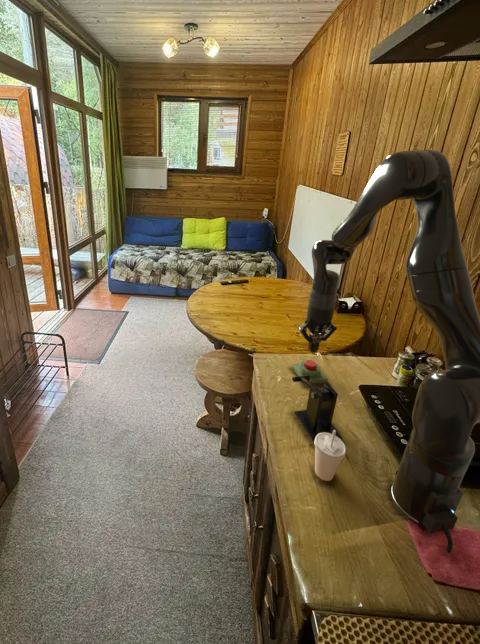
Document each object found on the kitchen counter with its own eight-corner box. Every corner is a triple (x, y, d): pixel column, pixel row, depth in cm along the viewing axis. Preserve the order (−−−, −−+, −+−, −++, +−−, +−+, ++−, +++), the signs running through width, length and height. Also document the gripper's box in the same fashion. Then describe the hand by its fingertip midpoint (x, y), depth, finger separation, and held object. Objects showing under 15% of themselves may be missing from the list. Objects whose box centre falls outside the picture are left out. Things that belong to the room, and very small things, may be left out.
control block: (327, 384, 100) (329, 374, 99) (304, 386, 99) (306, 376, 97) (312, 367, 109) (314, 357, 107) (291, 369, 107) (292, 359, 106)
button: (318, 370, 101) (318, 366, 101) (308, 371, 100) (308, 367, 100) (312, 363, 104) (313, 359, 104) (302, 364, 104) (303, 360, 103)
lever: (292, 382, 91) (292, 374, 91) (307, 380, 92) (307, 373, 92) (317, 402, 78) (317, 393, 78) (335, 400, 79) (335, 391, 79)
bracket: (293, 414, 88) (300, 377, 83) (319, 411, 89) (327, 375, 85) (312, 444, 78) (320, 404, 74) (340, 440, 80) (350, 401, 75)
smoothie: (311, 487, 68) (322, 439, 63) (305, 460, 74) (314, 415, 69) (342, 491, 67) (355, 443, 62) (333, 464, 73) (344, 418, 68)
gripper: (308, 310, 90) (299, 359, 96) (348, 307, 92) (337, 356, 98) (295, 299, 97) (288, 346, 103) (333, 297, 99) (324, 343, 105)
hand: (312, 351), depth 100 cm, fingers closed
